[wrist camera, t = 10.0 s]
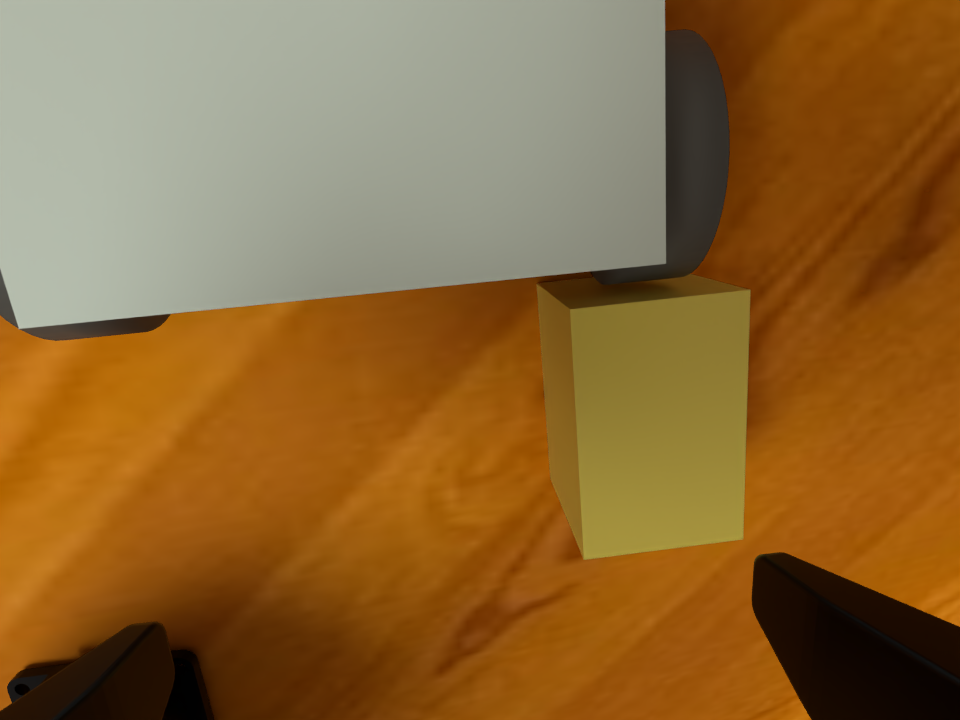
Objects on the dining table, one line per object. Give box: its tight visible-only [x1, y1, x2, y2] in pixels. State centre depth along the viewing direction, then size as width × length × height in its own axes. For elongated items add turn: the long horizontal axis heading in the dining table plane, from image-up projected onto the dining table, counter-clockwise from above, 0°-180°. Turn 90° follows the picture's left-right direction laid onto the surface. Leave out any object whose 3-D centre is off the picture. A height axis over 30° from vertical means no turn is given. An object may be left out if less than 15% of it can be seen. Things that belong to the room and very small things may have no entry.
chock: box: [537, 274, 751, 560], centre depth 17 cm, size 7×4×5 cm, turn 6°
